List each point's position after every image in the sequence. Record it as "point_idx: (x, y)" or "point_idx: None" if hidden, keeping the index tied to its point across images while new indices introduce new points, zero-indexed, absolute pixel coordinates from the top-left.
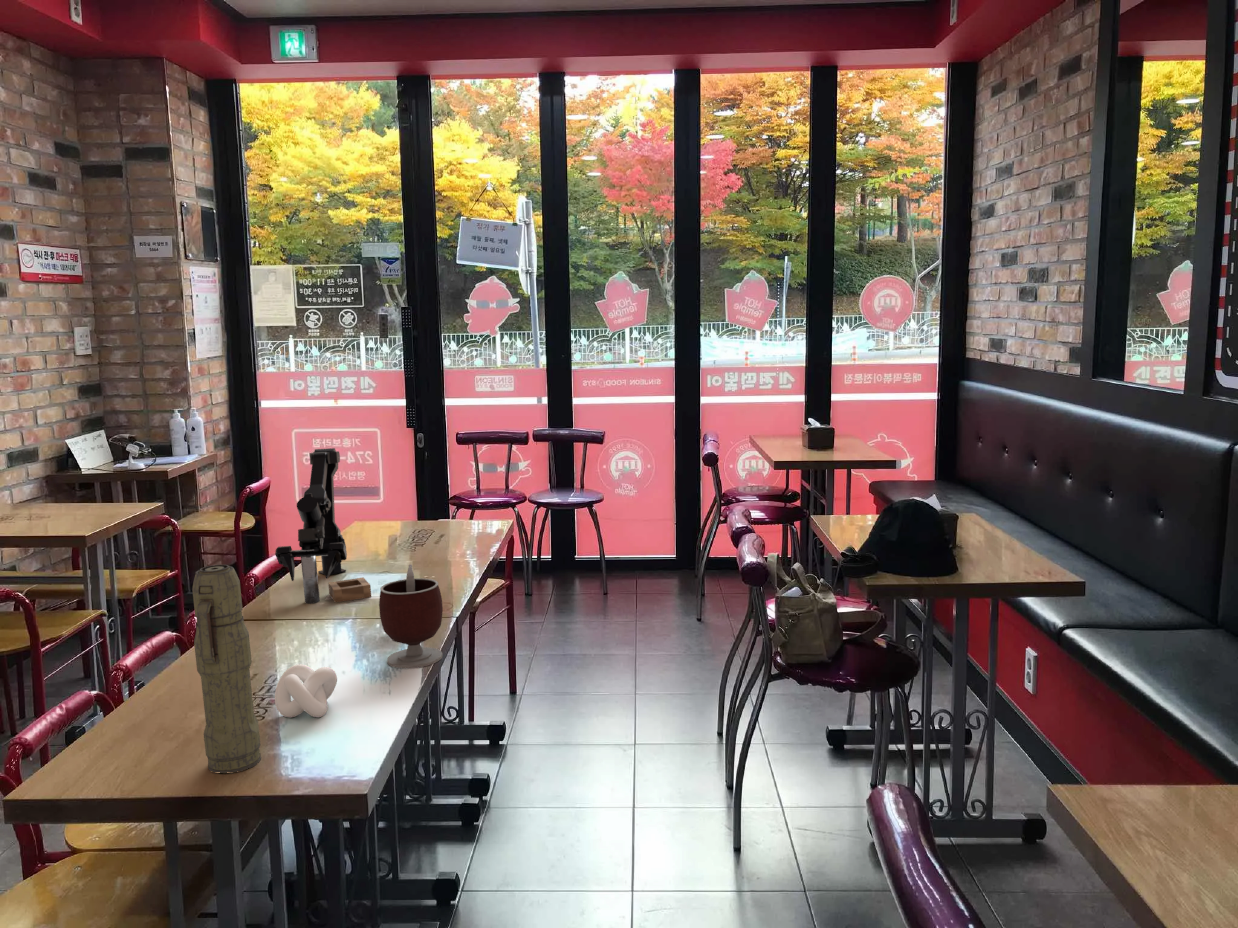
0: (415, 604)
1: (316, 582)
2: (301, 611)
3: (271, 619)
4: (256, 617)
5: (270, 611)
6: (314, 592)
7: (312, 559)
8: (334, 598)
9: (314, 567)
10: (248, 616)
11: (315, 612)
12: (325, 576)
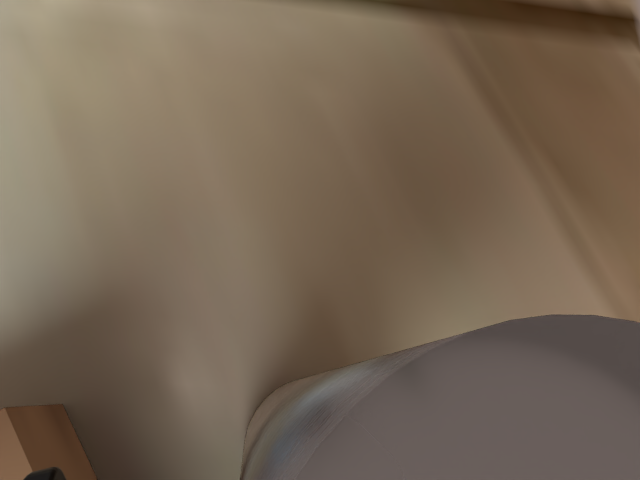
0: None
1: (245, 451)
2: (288, 155)
3: (422, 4)
4: (549, 58)
5: (533, 181)
6: (267, 401)
7: (287, 466)
8: (59, 427)
9: (251, 475)
10: (616, 85)
11: (159, 117)
12: (54, 467)
